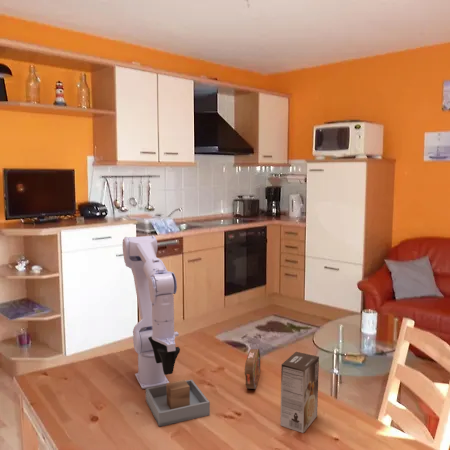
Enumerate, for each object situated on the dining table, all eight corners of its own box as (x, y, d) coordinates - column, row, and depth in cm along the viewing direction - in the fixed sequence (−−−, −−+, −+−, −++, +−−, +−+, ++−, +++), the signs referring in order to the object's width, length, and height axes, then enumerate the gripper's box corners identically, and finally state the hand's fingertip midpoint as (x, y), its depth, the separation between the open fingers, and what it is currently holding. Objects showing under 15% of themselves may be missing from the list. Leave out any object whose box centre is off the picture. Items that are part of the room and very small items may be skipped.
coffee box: (294, 408, 117) (296, 350, 115) (317, 416, 114) (319, 356, 112) (279, 426, 109) (280, 363, 107) (304, 434, 106) (306, 370, 104)
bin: (145, 400, 121) (145, 388, 120) (192, 391, 126) (191, 379, 126) (159, 426, 109) (159, 413, 108) (209, 414, 114) (209, 402, 114)
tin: (254, 394, 124) (254, 366, 123) (243, 393, 125) (243, 364, 124) (261, 370, 139) (261, 344, 138) (251, 369, 140) (251, 343, 139)
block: (166, 402, 118) (166, 383, 117) (184, 399, 120) (184, 379, 120) (171, 410, 115) (171, 390, 114) (189, 406, 117) (189, 386, 116)
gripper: (186, 324, 113) (187, 376, 114) (169, 309, 126) (170, 355, 128) (159, 328, 110) (160, 381, 112) (144, 312, 123) (146, 359, 125)
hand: (164, 367), depth 119 cm, fingers open, 7 cm apart
